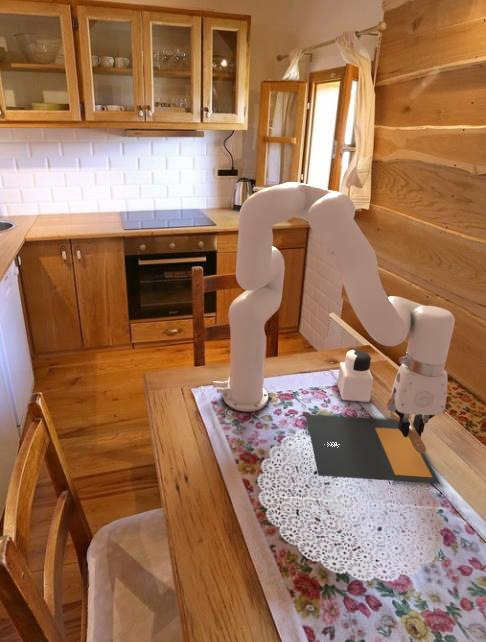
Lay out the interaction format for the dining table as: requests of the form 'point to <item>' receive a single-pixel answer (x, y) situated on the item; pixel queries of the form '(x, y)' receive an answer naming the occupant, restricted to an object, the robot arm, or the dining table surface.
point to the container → (355, 377)
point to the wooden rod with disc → (412, 435)
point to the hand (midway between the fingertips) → (409, 432)
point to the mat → (366, 450)
